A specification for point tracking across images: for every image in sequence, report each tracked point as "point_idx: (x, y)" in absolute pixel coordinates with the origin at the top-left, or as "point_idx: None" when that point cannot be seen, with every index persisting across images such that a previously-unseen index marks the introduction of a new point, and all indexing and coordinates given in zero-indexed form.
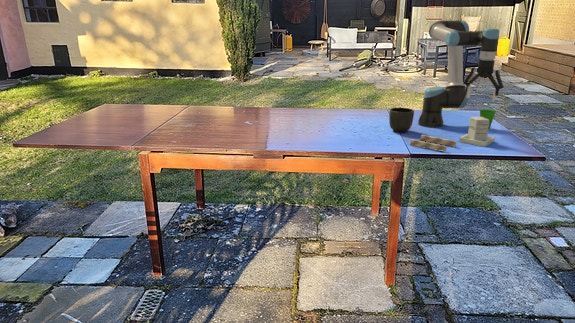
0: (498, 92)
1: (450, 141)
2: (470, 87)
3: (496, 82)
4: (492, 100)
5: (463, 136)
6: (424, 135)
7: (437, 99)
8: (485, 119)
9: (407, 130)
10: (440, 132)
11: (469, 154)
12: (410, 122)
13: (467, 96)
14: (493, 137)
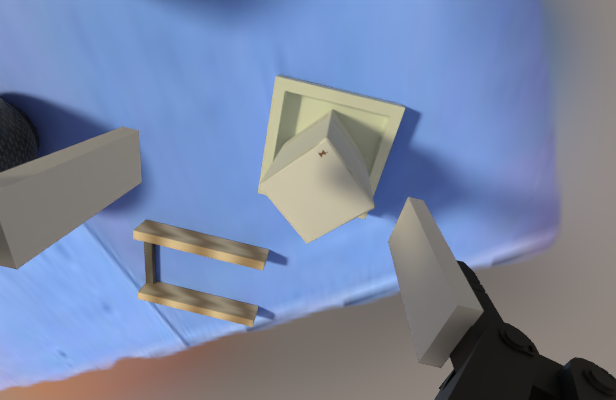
0: (481, 301)
1: (246, 264)
2: (28, 207)
3: None
4: (393, 251)
5: (267, 165)
6: (143, 236)
7: None
8: (350, 213)
9: (33, 133)
10: (142, 53)
11: (323, 304)
12: (10, 164)
13: (125, 188)
14: (397, 116)
